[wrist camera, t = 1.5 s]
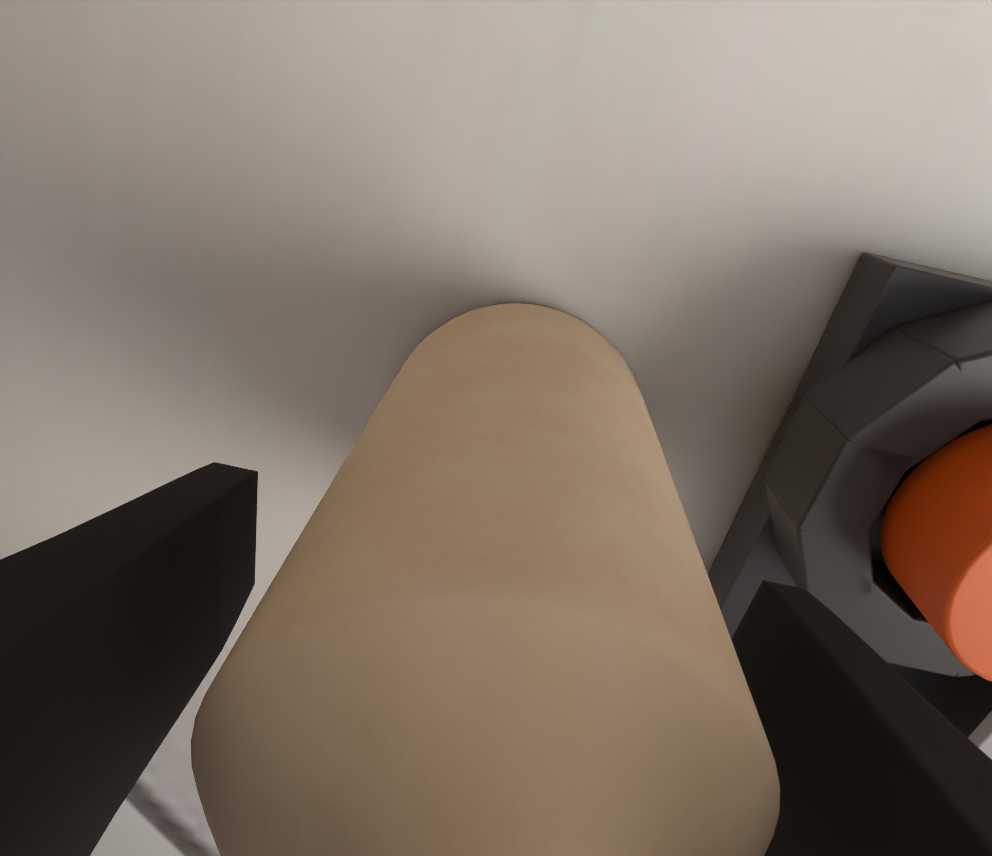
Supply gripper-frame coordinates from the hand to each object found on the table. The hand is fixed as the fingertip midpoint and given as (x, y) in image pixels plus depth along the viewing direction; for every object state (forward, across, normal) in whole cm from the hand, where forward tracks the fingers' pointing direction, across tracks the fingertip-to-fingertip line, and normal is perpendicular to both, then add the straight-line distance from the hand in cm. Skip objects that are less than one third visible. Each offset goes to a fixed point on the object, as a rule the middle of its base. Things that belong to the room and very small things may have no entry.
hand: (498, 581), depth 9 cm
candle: (+6, 0, 0) cm, 6 cm away
